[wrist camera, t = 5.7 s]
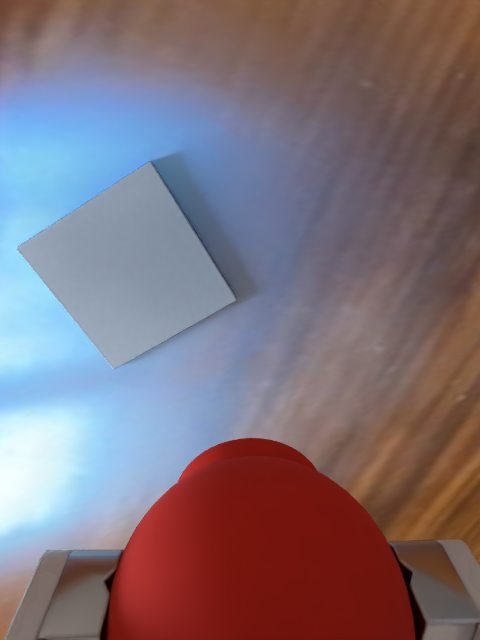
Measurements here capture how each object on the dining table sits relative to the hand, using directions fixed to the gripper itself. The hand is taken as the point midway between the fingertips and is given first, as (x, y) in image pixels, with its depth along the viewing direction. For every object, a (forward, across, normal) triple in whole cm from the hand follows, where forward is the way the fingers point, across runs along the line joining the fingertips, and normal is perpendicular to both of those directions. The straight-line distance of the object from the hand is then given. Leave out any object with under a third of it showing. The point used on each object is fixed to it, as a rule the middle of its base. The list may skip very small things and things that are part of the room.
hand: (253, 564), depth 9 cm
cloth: (+21, +6, 0) cm, 22 cm away
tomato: (+2, 0, 0) cm, 2 cm away
